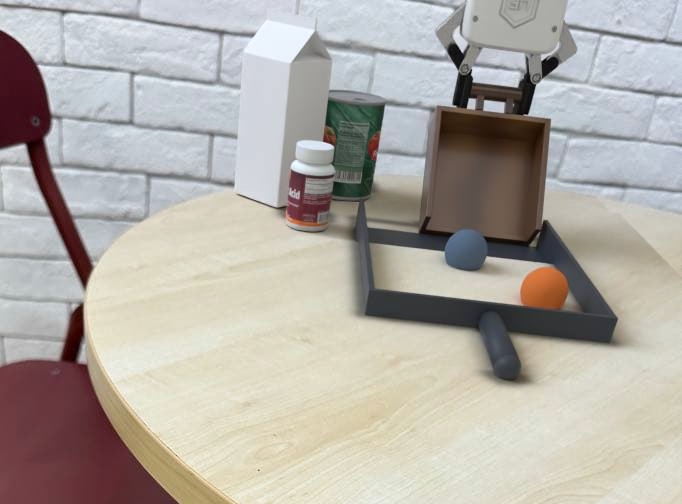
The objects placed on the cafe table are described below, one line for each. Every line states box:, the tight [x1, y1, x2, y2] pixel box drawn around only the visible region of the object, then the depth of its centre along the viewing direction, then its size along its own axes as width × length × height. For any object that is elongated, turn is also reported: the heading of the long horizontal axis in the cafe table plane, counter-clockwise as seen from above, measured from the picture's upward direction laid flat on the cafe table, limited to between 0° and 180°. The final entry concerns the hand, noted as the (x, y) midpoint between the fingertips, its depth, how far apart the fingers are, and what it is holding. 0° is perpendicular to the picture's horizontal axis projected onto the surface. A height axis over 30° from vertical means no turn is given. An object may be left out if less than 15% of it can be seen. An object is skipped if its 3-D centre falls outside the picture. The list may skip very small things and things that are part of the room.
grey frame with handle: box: [354, 198, 619, 381], centre depth 79 cm, size 38×21×3 cm, turn 177°
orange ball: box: [519, 266, 569, 310], centre depth 77 cm, size 4×4×4 cm
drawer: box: [417, 81, 552, 246], centre depth 94 cm, size 13×16×5 cm
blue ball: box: [444, 229, 488, 271], centre depth 84 cm, size 4×4×4 cm
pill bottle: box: [284, 140, 335, 233], centre depth 92 cm, size 5×5×8 cm
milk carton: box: [233, 8, 333, 208], centre depth 96 cm, size 7×7×19 cm
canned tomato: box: [323, 89, 387, 202], centre depth 104 cm, size 8×8×11 cm
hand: (488, 115), depth 95 cm, fingers closed on drawer, 5 cm apart
